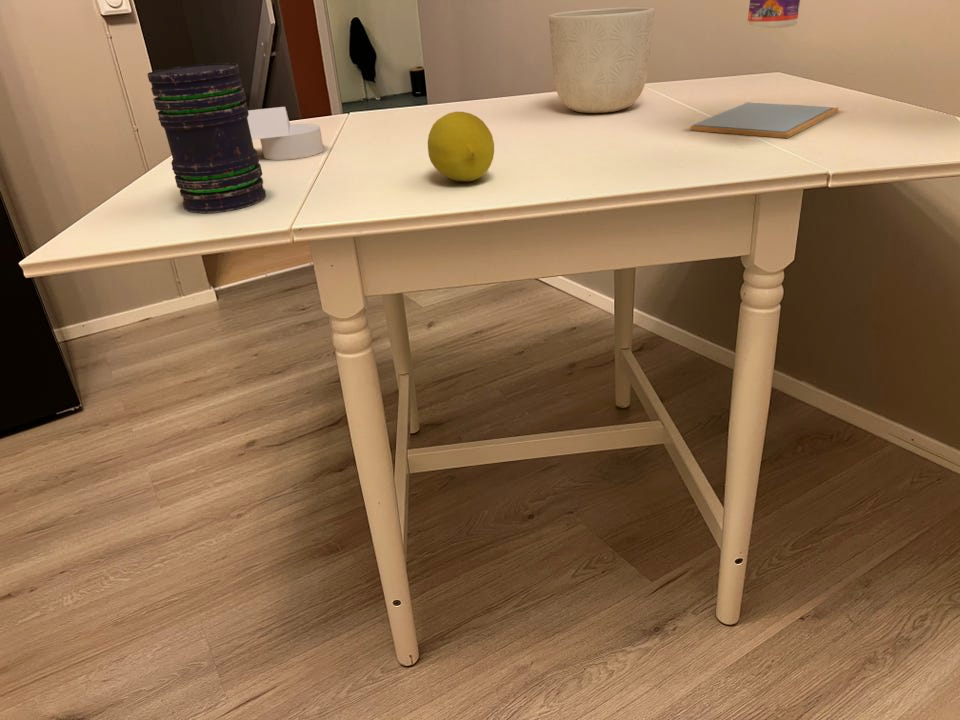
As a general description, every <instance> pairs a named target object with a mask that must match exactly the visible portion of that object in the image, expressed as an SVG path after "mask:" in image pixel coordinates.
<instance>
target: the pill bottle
mask: <svg viewBox="0 0 960 720" xmlns="http://www.w3.org/2000/svg"><path fill="white" fill-rule="evenodd" d="M800 3H801V0H749V5H748V6H749V7H748V14H747V27H748V28H750V29H761V30H762V29H782V28H790V27H793V26H796V24H797V23H798V18H799V12H800V11H799V10H800Z"/></svg>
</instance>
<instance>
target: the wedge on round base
mask: <svg viewBox="0 0 960 720" xmlns="http://www.w3.org/2000/svg"><path fill="white" fill-rule="evenodd" d="M248 113H249V115H248V117H247V119H248V124H249V128H250V133H251V137H252V141H253V140H254V141H255V140H259V141H260V145H261V149H262V154H263V158H264V159H266V160H270V161H271V160H272V161H287V160H298V159H303V158H308V157H312V156H315V155H318V154H321V153H322V152H324V150H325V149H324V142H323V136H322V132H321V126H320V125H319V124H315V123H314V124H313V123H298V124H296V123H295V124H291V122H290V120H289V116H288V111H287V109H286V106H279V107H277V106H276V107H269V108H268V107H267V108H260V109H259V108H258V109H250V110H249V109H248Z"/></svg>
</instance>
